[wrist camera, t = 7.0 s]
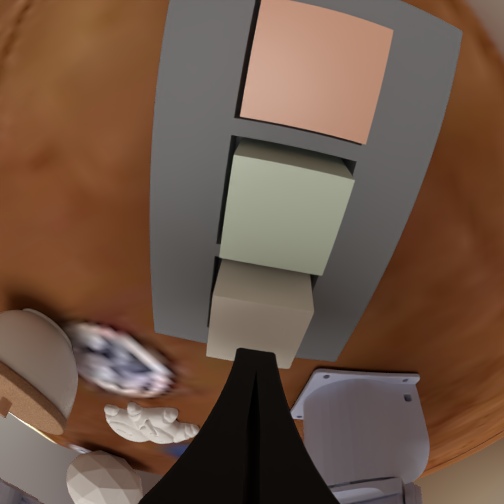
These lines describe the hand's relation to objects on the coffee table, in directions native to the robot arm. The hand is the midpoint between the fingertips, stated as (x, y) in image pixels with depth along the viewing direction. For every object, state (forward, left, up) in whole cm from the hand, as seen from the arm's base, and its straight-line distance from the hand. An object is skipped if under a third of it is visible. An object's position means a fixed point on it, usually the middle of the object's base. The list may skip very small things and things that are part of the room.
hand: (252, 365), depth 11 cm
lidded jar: (+17, +12, -7) cm, 22 cm away
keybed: (0, -5, -6) cm, 8 cm away
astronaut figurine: (+8, +24, -7) cm, 27 cm away
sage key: (0, -5, -5) cm, 7 cm away
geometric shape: (+18, +50, -7) cm, 54 cm away
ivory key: (0, 0, -4) cm, 4 cm away
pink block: (0, -10, -5) cm, 11 cm away
